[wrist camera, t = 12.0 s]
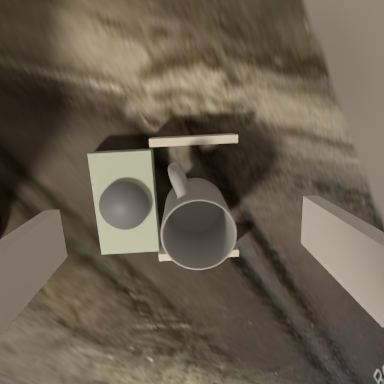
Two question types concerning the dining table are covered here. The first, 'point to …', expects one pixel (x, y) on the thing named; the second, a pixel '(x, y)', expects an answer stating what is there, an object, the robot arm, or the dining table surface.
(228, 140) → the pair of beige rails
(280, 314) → the dining table surface
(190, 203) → the mug
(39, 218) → the robot arm
